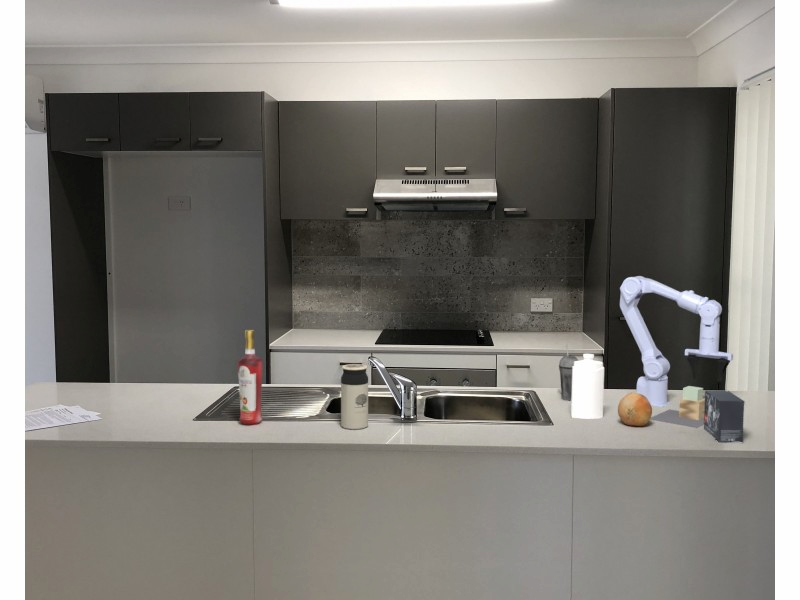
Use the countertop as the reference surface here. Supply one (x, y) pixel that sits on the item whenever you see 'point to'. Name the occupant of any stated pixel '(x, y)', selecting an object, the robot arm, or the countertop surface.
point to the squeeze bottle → (587, 388)
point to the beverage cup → (566, 375)
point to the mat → (677, 419)
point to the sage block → (692, 393)
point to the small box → (724, 416)
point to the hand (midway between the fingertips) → (707, 379)
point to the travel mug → (354, 396)
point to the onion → (634, 409)
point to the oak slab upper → (692, 404)
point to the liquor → (250, 383)
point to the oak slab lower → (691, 414)
